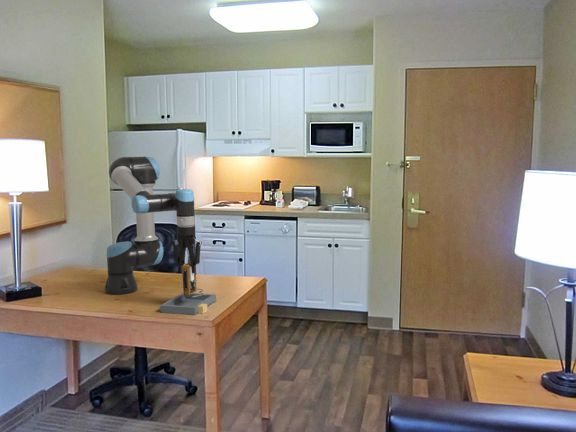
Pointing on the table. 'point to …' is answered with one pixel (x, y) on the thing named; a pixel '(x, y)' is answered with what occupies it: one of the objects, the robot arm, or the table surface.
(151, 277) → the table surface
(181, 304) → the tray
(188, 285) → the multimeter
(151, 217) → the robot arm
